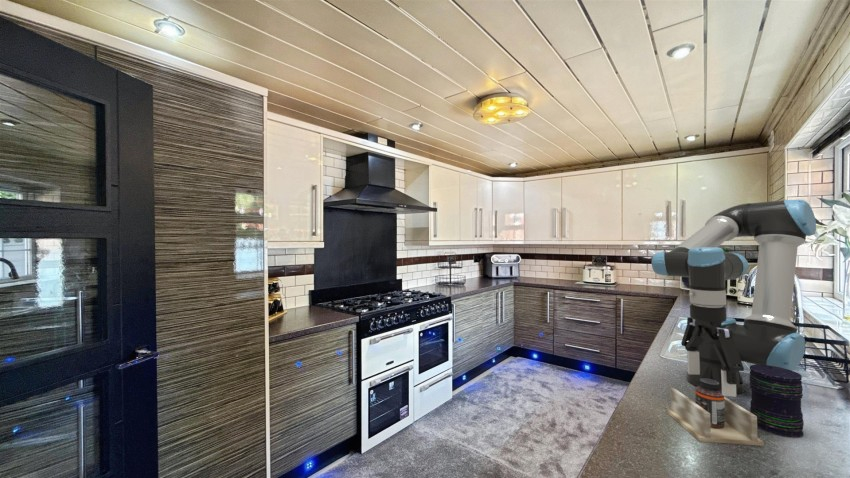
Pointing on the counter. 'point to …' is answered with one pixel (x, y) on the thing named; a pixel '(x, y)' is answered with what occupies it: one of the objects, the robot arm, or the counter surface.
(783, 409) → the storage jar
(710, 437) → the docking cradle
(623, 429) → the counter surface
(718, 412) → the supplement bottle
